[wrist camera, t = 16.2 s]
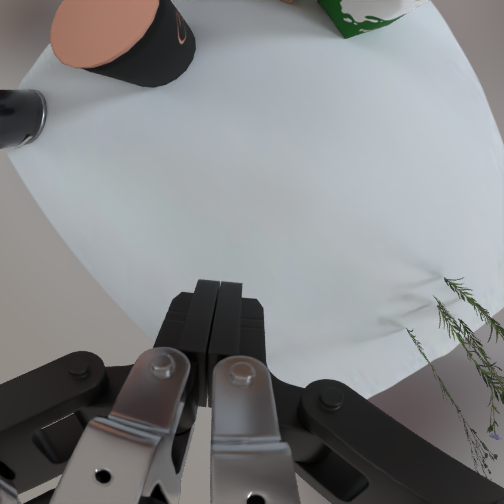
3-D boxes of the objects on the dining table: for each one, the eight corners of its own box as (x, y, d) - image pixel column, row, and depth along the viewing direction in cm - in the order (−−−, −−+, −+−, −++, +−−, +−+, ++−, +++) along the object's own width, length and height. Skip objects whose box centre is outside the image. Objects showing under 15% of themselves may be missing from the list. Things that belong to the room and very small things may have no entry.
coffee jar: (212, 58, 32) (181, 9, 16) (147, 103, 34) (75, 93, 18) (173, 7, 28) (126, -52, 12) (112, 52, 31) (36, 23, 14)
